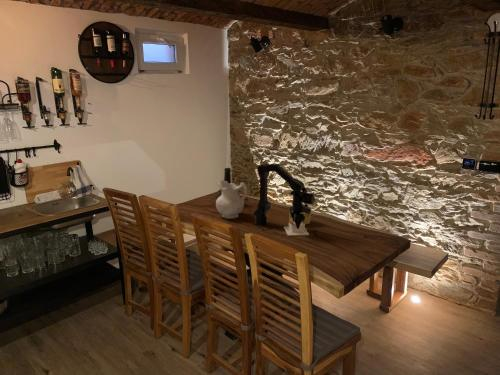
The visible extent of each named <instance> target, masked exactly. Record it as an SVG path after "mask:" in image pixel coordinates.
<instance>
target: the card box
mask: <svg viewBox="0 0 500 375" xmlns="http://www.w3.org/2000/svg"><path fill="white" fill-rule="evenodd" d="M288 226H289V230H290V231H291V232H302V231H305V229H306V225H305V224H304V223H303V222H301V224H300V227H299V229H297V227H296V224H295V222H288Z"/></svg>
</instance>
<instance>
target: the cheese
mask: <svg viewBox="0 0 500 375" xmlns="http://www.w3.org/2000/svg"><path fill="white" fill-rule="evenodd" d="M300 214H301V213H300ZM303 214H304V216H305V220H304V221H302V222H303V223H304V224H305V226H306V225H308V224H310V223H311V219H312V211H311V212H310V214H308V213H305V212H303ZM288 215H289V216H288V218H289V219H288V221H289V222H293V219H292V217H291V214H290V213H289V214H288ZM289 222H288V223H289Z"/></svg>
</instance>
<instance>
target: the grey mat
mask: <svg viewBox="0 0 500 375" xmlns="http://www.w3.org/2000/svg"><path fill="white" fill-rule="evenodd" d="M283 229H284V230H285V234H287V237H289V236H293V237H294V236H296V237H297V236H310V233H309V232H308V230H307V228H305V231H302V232H291V231H290V230H289V225H288V226H283Z"/></svg>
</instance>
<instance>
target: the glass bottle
mask: <svg viewBox="0 0 500 375" xmlns="http://www.w3.org/2000/svg"><path fill="white" fill-rule="evenodd" d="M223 171H224V173H223V174H224V176H223V180H224V181H227V182H228V183H232V178H231V172H232V170H231V168H230V167H225V168H224V170H223ZM221 195H222V191H221V188H219V189H218V190H217V191H216V193H215V201H216V200H217V199H218V198H219V197H220V196H221ZM238 195H239V196H240V194H239V192H238Z"/></svg>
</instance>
